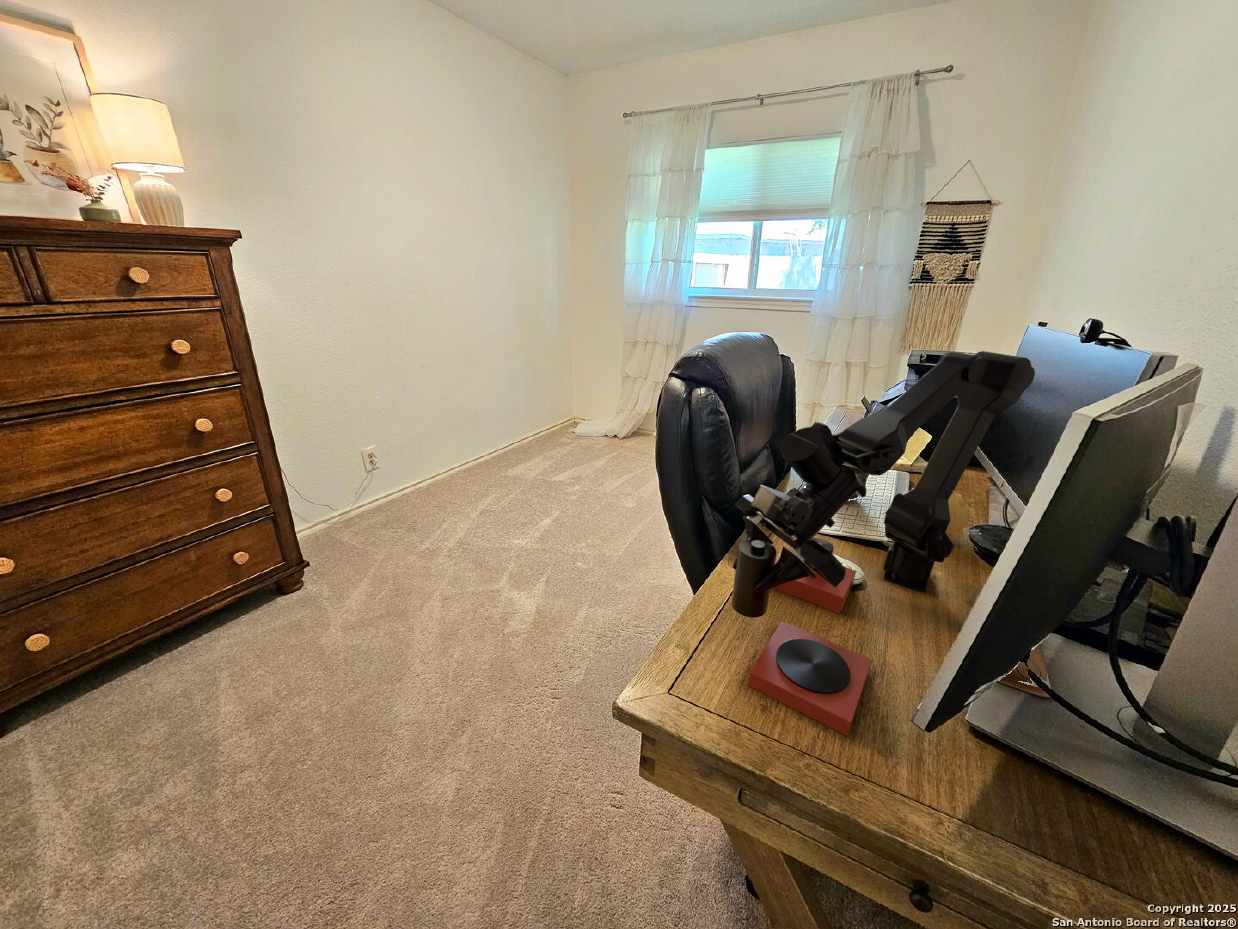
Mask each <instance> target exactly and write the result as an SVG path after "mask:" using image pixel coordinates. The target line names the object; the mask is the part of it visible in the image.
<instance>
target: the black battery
mask: <svg viewBox="0 0 1238 929" xmlns="http://www.w3.org/2000/svg"><path fill="white" fill-rule="evenodd" d="M737 548H738V549H737V555H738V556H737V555H736V557H737V564H736V570H735V572H734V579H733V588H732V594H731V607H732V609H733V610H734V611H735V612H736V613H738V614H739V615H741V616H743V617H746V618H753V619H754V618H760V617H763V616H764V615H766V613H767V612H768V607H769V601H770V594H771V591H772V590H771V589H769V590H766V591H764V592H761V593H759V592H758V591H756V590H755V587H756V586H757V584H758V583H759V581H760V580H761V579H762V578H763V577H764V576H765V575H766V573H767V572H768V571H769V570H770V569H771V568H772V567H773V566H774V565H775V560H776V558H777V553H778V552H777V549H776V547H775V546H774V545H773V544H772V545H771V544H769V543H767V542H765V541H762V540H756V539H749V540H745V541H743V540H742V541H741V542H739V544H738V547H737Z"/></svg>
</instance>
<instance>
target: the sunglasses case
mask: <svg viewBox="0 0 1238 929" xmlns="http://www.w3.org/2000/svg"><path fill="white" fill-rule="evenodd" d="M981 589H982V588H980V589H978V590H976V591H974V592H973V594H972V595H971V606H972V607H973V605H974V603H975V600H976V598H977V596H978V595H979V593H980V592H981ZM1046 664H1047V663H1046V661H1045V657H1044V653H1043V649H1042V644H1041V643H1040V644H1039V645H1038V646H1037V647H1036V648H1035V649H1034V650H1032V651H1031V654H1030V659H1029V660H1028V662H1027V665H1028V667H1027V666H1026V665H1025V663H1024V662H1020V663H1019V664H1018V666H1017V667H1016V668H1015V669H1013V670H1012V672H1011V673H1010V674H1008V675H1006V677H1004V678H1002V679H1001V680H1000V681H998V682H997V683H998V684H1001V685H1003V686H1004V687H1005V686H1006V687H1009V688H1011V689H1014V690H1017V691H1021V692H1023V693H1027V694H1030V695H1034V696H1036V697H1037V696H1038V697H1041V698H1045V699H1052V698H1051V697H1050V696H1049V695H1048V694H1047V693H1046V692H1045V691H1043V690H1042V688H1039V687H1034V686H1031V685H1027V684H1024V683H1021V682H1018V681H1023V682H1029V683H1031V684H1032V681H1031V680H1030V676H1029V675H1028V669H1030V670H1031V671H1032V672H1034V673H1035V674H1036V675H1038V676H1039V677H1041V678H1042V680H1044V681H1047V671H1048V668H1047V665H1046ZM1046 668H1047V669H1046ZM1051 688H1052V689H1053V686H1052V685H1051Z"/></svg>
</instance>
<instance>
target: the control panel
mask: <svg viewBox="0 0 1238 929" xmlns="http://www.w3.org/2000/svg"><path fill="white" fill-rule="evenodd" d="M784 547H785V548H787V549H788V550H789V551H790V552H792V551H793V550H794V549H793V548H789V547H786V546H784ZM780 556H781V552H780V553H779V555H777V556H776V560H775V564H776V563H777V561H778V560H779V559H780ZM844 567H845V566H844ZM845 568H846V572H845V577H844V579H843V580H842V581H841V583H840V584H839V585H838V586H837V587H836V588H835V587H834V586H832V585H831V584H830V583H829V582H827V581H826V580H825V579H823V578H822V577H821V576H820V575H819V573H818V572H815V573H814V574H815V575H816V578H814V579H813V578H812V577H810V576H809V577H805V578H801V579H798V580H794V581H791V582H787V583H785V584H782V585H779V586H777V587H774V588H773V589H775V590H778V591H781V592H783V593H785V594H788V595H791V596H793V597H795V598H798V599H801V600H804V601H807V602H809V603H811V604H814V605H816V606H819V607H820V608H821V607H822V608H824V609H826V610H829V611H831V612H834V613H836V614H841V612H842V609H843V608H844V605H845V603H846V601H847V599H848V597H849V595H850V593H851V591H852V589H853V586H854V583H855V579H854V578H856V574H857V570H855V569H851V568H848V567H845ZM853 581H854V582H853Z"/></svg>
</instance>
